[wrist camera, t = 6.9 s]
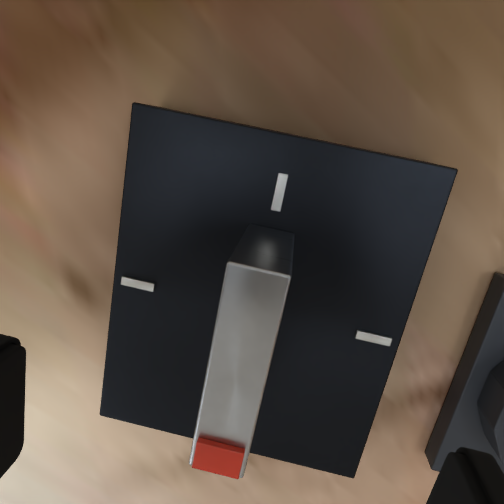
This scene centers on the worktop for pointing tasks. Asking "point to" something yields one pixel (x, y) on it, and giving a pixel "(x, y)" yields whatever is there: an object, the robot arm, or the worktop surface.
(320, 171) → the tap deck
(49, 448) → the worktop surface
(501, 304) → the button block
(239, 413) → the lever
